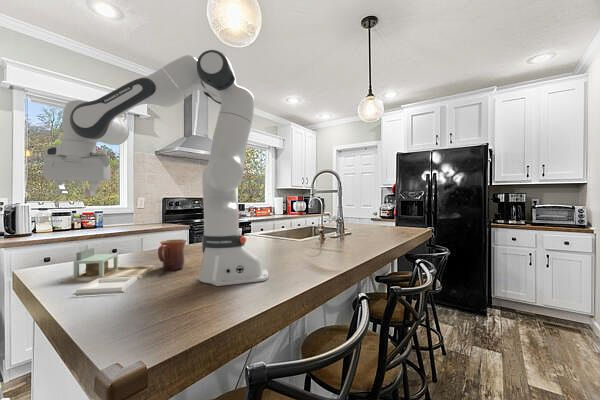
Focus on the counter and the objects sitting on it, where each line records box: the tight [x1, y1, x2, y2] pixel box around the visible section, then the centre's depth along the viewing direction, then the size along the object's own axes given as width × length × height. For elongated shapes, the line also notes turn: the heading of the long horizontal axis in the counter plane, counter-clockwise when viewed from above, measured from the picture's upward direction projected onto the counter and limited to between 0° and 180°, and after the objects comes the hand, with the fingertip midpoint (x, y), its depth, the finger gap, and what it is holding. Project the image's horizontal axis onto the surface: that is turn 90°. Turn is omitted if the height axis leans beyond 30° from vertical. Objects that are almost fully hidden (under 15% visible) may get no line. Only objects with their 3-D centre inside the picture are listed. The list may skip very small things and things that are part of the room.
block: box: [85, 260, 109, 276], centre depth 92 cm, size 4×4×4 cm
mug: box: [157, 238, 187, 272], centre depth 101 cm, size 12×9×10 cm
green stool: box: [73, 247, 119, 278], centre depth 92 cm, size 8×11×8 cm
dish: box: [75, 276, 138, 297], centre depth 80 cm, size 11×11×2 cm
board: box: [60, 264, 156, 283], centre depth 93 cm, size 22×14×1 cm, turn 101°
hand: (76, 195), depth 89 cm, fingers open, 8 cm apart
